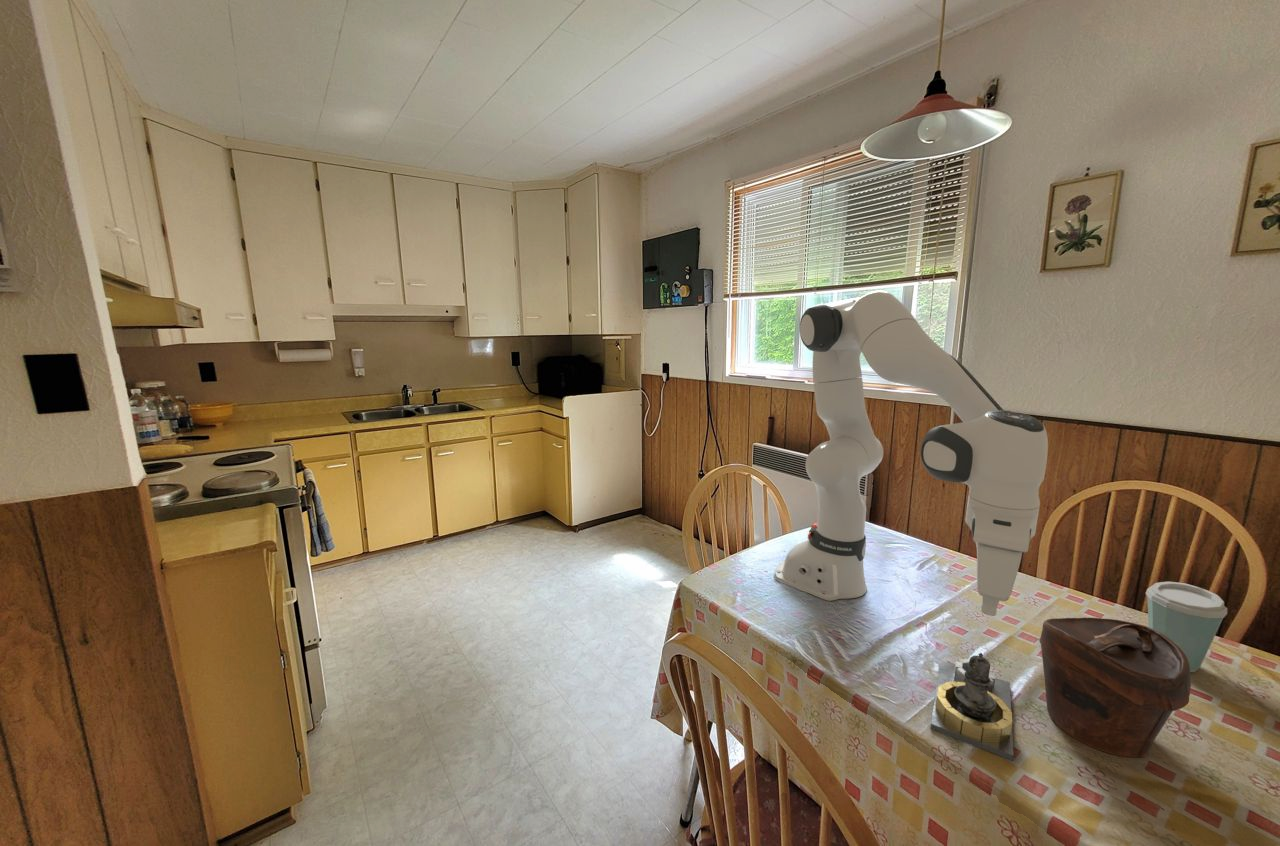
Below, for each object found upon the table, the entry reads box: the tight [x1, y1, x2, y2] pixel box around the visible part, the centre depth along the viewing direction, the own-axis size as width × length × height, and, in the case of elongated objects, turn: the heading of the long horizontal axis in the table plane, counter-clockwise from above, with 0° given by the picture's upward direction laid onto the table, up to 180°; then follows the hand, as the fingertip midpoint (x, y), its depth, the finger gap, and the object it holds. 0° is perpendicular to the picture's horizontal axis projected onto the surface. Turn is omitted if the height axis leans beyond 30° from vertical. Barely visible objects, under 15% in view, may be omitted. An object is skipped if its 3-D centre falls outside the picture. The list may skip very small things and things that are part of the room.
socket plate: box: [930, 658, 1015, 762], centre depth 87 cm, size 11×19×4 cm, turn 145°
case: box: [1038, 617, 1192, 758], centre depth 81 cm, size 18×20×18 cm
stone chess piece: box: [954, 652, 996, 723], centre depth 82 cm, size 6×6×12 cm
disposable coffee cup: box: [1145, 581, 1228, 673], centre depth 96 cm, size 11×11×15 cm
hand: (988, 598), depth 79 cm, fingers open, 8 cm apart
